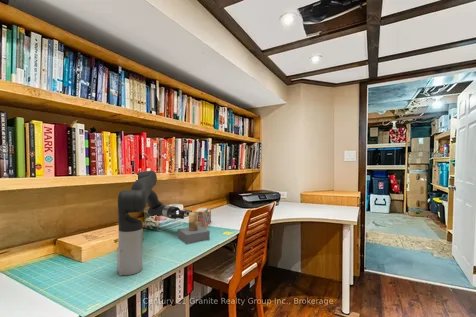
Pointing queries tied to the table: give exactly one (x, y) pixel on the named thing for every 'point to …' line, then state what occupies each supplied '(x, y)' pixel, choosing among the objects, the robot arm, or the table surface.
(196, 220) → the cylinder
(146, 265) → the table surface
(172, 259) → the table surface
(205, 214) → the printed cardboard box
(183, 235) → the plinth
